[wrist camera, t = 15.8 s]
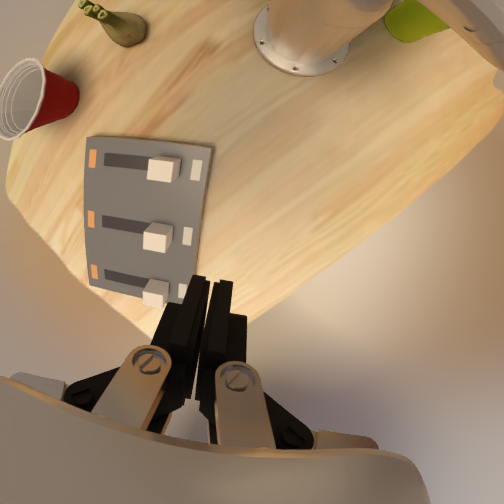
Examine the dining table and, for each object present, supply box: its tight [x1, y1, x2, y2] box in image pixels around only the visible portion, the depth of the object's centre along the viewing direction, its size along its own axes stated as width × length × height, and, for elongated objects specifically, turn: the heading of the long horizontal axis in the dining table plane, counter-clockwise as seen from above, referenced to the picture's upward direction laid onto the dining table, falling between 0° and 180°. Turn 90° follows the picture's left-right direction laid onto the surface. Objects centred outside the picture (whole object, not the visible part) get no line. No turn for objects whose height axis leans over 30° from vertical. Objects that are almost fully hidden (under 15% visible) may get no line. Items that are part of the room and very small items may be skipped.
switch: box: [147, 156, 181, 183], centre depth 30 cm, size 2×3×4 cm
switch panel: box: [84, 136, 214, 304], centre depth 37 cm, size 24×18×3 cm
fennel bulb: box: [78, 0, 146, 47], centre depth 20 cm, size 6×5×12 cm
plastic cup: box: [0, 58, 79, 141], centre depth 24 cm, size 11×11×12 cm
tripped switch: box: [143, 222, 173, 253], centre depth 34 cm, size 2×3×4 cm
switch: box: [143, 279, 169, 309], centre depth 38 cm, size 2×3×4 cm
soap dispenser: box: [385, 0, 451, 43], centre depth 16 cm, size 6×7×20 cm
